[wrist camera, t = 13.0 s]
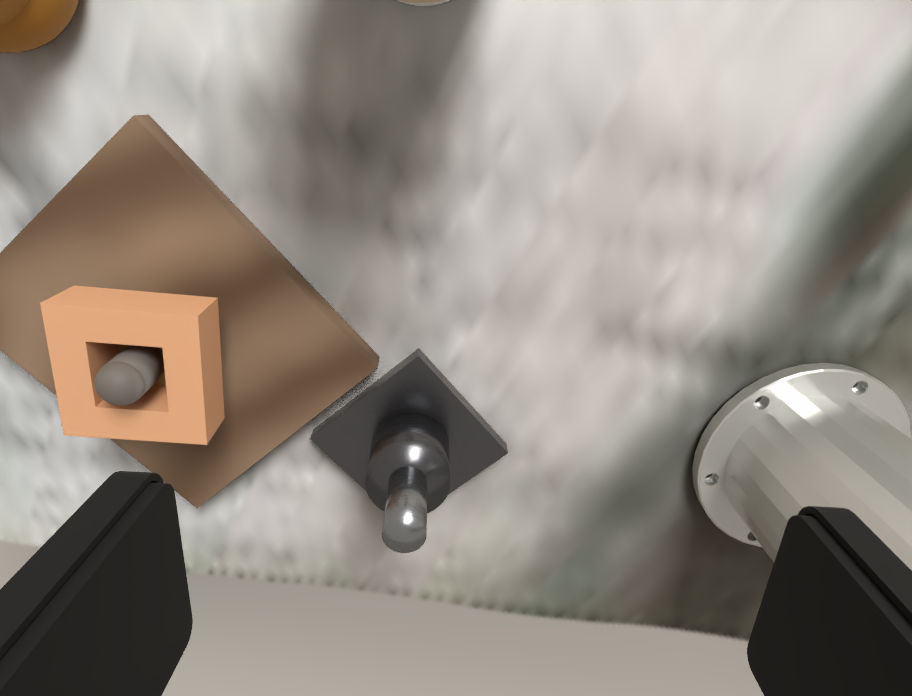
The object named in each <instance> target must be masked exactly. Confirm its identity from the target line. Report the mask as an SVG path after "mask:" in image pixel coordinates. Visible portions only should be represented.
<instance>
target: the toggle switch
mask: <svg viewBox="0 0 912 696" xmlns="http://www.w3.org/2000/svg"><path fill="white" fill-rule="evenodd" d="M72 286H86V287H98V288H109V289H121V290H133V291H145V292H157V293H168V294H180V295H192V296H204V297H216V298H218V310H219V328H220V345H221V363H222V380H223V398H224V416H225V418H224V420H223V421H222V423H221V424H220V426H219V427H218V429H217V431H216V432H215V434H214V435H213V437H212V438H211V440H210V441H209V443H208V444H207V445H201V444H186V443H171V442H156V441H141V440H126V439H112V438H110V439H111V440H113V441H114V442H115V443H116V444H118V445H119V446H120V447H121V448H123V449H124V450H125V451H126V452H128V453H129V454H130V455H131V456H133V457H134V458H135V459H136V460H138V461H139V462H140V463H141V464H143V465H144V466H145V467H146V468H148V469H149V470H150V471H151V472H153V473H157V474H159V475H160V476H161V477H162V479H163V481H164V482H165V483H168V484H171V485H172V487H173V489H174V490H175V491H176V492H177V493H179V494H180V495H181V496H182V497H184V498H185V499H186V500H187V501H189V502H190V503H191V504H192V505H194V506H195V507H196V508H198V507H199V506H201V505H202V504H203V503H205V502H206V501H207V500H208V499H210V498H211V497H212V496H214V495H215V494H216V493H217V492H219V491H220V490H221V489H223V488H224V487H225V486H226V485H228V484H229V483H230V482H232V481H233V480H234V479H235V478H237V477H238V476H239V475H241V474H242V473H243V472H244V471H246V470H247V469H248V468H250V467H251V466H252V465H253V464H255V463H256V462H257V461H259V460H260V459H261V458H262V457H264V456H265V455H266V454H268V453H269V452H270V451H271V450H273V449H274V448H275V447H277V446H278V445H279V444H280V443H282V442H283V441H284V440H286V439H287V438H288V437H289V436H291V435H292V434H293V433H295V432H296V431H297V430H298V429H300V428H301V427H302V426H304V425H305V424H306V423H307V422H309V421H310V420H311V419H313V418H314V417H315V416H316V415H318V414H319V413H320V412H322V411H323V410H324V409H325V408H327V407H328V406H329V405H331V404H332V403H333V402H334V401H336V400H337V399H338V398H340V397H341V396H342V395H344V394H345V393H346V392H347V391H349V390H350V389H351V388H353V387H354V386H355V385H356V384H358V383H359V382H360V381H362V380H363V379H364V378H365V377H367V376H368V375H369V374H371V373H372V372H373V371H374V370H376V369H377V366H378V362H379V356H378V355H377V354H376V353H375V352H374V351H373V350H372V349H371V348H370V346H369V345H368V344H367V343H366V342H365V341H364V340H363V339H362V338H361V337H360V336H359V335H358V334H357V333H356V332H355V331H354V330H353V329H352V328H351V327H350V325H349V324H348V323H347V322H346V321H345V320H344V319H343V318H342V317H341V316H340V315H339V314H338V313H337V312H336V311H335V310H334V309H333V308H332V307H331V306H330V305H329V303H328V302H327V301H326V300H325V299H324V298H323V297H322V296H321V295H320V294H319V293H318V292H317V291H316V290H315V289H314V288H313V287H312V286H311V285H310V284H309V282H308V281H307V280H306V279H305V278H304V277H303V276H302V275H301V274H300V273H299V272H298V271H297V270H296V269H295V268H294V267H293V266H292V265H291V264H290V263H289V262H288V260H287V259H286V258H285V257H284V256H283V255H282V254H281V253H280V252H279V251H278V250H277V249H276V248H275V247H274V246H273V245H272V244H271V243H270V242H269V241H268V239H267V238H266V237H265V236H264V235H263V234H262V233H261V232H260V231H259V230H258V229H257V228H256V227H255V226H254V225H253V224H252V223H251V222H250V221H249V220H248V219H247V217H246V216H245V215H244V214H243V213H242V212H241V211H240V210H239V209H238V208H237V207H236V206H235V205H234V204H233V203H232V202H231V201H230V200H229V199H228V198H227V197H226V195H225V194H224V193H223V192H222V191H221V190H220V189H219V188H218V187H217V186H216V185H215V184H214V183H213V182H212V181H211V180H210V179H209V178H208V177H207V176H206V174H205V173H204V172H203V171H202V170H201V169H200V168H199V167H198V166H197V165H196V164H195V163H194V162H193V161H192V160H191V159H190V158H189V157H188V156H187V155H186V154H185V152H184V151H183V150H182V149H181V148H180V147H179V146H178V145H177V144H176V143H175V142H174V141H173V140H172V139H171V138H170V137H169V136H168V135H167V134H166V133H165V131H164V130H163V129H162V128H161V127H160V126H159V125H158V124H157V123H156V122H155V121H154V120H153V119H152V118H151V117H150V116H149V115H137V116H133V117H132V118H131V119H130V120H129V121H128V122H127V123H126V124H125V125H124V126H123V127H122V128H121V129H120V130H119V131H118V132H117V133H116V134H115V135H114V136H113V137H112V138H111V139H110V140H109V141H108V142H107V143H106V144H105V145H104V147H103V148H102V149H101V150H100V151H99V152H98V153H97V154H96V155H95V156H94V157H93V158H92V159H91V160H90V161H89V162H88V163H87V164H86V165H85V166H84V167H83V168H82V169H81V170H80V171H79V172H78V173H77V174H76V175H75V176H74V177H73V178H72V180H71V181H70V182H69V183H68V184H67V185H66V186H65V187H64V188H63V189H62V190H61V191H60V192H59V193H58V194H57V195H56V196H55V197H54V198H53V199H52V200H51V201H50V202H49V203H48V204H47V205H46V206H45V207H44V208H43V209H42V210H41V211H40V212H39V214H38V215H37V216H36V217H35V218H34V219H33V220H32V221H31V222H30V223H29V224H28V225H27V226H26V227H25V228H24V229H23V230H22V231H21V232H20V233H19V234H18V235H17V236H16V237H15V238H14V239H13V240H12V241H11V242H10V243H9V244H8V245H7V247H6V248H5V249H4V250H3V251H2V252H1V253H0V350H1V351H2V352H3V353H4V354H6V355H7V356H8V357H9V358H11V359H12V360H13V361H14V362H16V363H17V364H18V365H19V366H21V367H22V368H23V369H24V370H26V371H27V372H28V373H29V374H31V375H32V376H33V377H34V378H36V379H37V380H38V381H39V382H41V383H42V384H43V385H44V386H46V387H47V388H48V389H49V390H51V391H52V392H53V393H54V394H55V395H57V394H56V389H55V383H54V377H53V372H52V366H51V361H50V355H49V350H48V344H47V339H46V333H45V328H44V322H43V316H42V311H41V305H40V303H41V302H43V301H45V300H47V299H49V298H51V297H53V296H55V295H57V294H59V293H60V292H62V291H64V290H66V289H68V288H70V287H72ZM118 351H119V354H117V355H116V356H115V357H114V358H112V359H111V360H110V361H109V362H108V363H106V364H105V365H104V366H103V367H102V368H101V369H100V370H99V371H98V373H97V375H96V378H95V388H96V391H97V393H98V395H99V396H100V397H101V398H102V399H103V400H104V401H106V402H108V403H110V404H113V405H129V404H131V403H134V402H136V401H137V400H138V399H140V398H141V397H142V396H143V395H144V394H145V393H146V392H147V391H148V390H149V389H150V388H151V387H152V386H153V385H163V386H166V380H165V369H164V359H163V349H162V348H161V347H148V346H135V345H123V344H118Z"/></svg>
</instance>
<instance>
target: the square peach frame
mask: <svg viewBox="0 0 912 696" xmlns="http://www.w3.org/2000/svg"><path fill="white" fill-rule="evenodd" d="M40 305H41V311H42V316H43V322H44V328H45V333H46V339H47V344H48V350H49V355H50V361H51V366H52V372H53V377H54V383H55V389H56V394H57V400H58V405H59V411H60V416H61V422H62V427H63V433H64V435H67V436H82V437H97V438H112V439H126V440H141V441H156V442H171V443H186V444H201V445H207V444H208V443H209V441H210V440H211V438H212V437H213V435H214V434H215V432H216V431H217V429H218V427H219V426H220V424H221V423H222V421H223V420H224V418H225V416H224V398H223V380H222V363H221V345H220V328H219V310H218V298H216V297H204V296H192V295H180V294H168V293H157V292H145V291H133V290H121V289H109V288H98V287H86V286H72V287H70V288H68V289H66V290H64V291H62V292H60V293H59V294H57V295H55V296H53V297H51V298H49V299H47V300H45V301H43V302H41V303H40ZM118 344H123V345H135V346H148V347H161V348H162V349H163V359H164V369H165V380H166V386H163V385H153V386H152V387H151V388H150V389H149V390H148V391H147V392H146V393H145V394H144V395H143V396H142V397H141V398H140V399H138V400H137V401H136V402H134V403H131V404H129V405H113V404H110V403H108V402H106V401H104V400H103V399H102V398H101V397H100V396H99V395H98V393H97V391H96V388H95V378H96V375H97V373H98V371H99V370H100V369H101V368H102V367H103V366H104V365H105V364H106V363H108V362H109V361H110V360H111V359H112V358H114V357H115V356H116V355H117V354H119V351H118Z"/></svg>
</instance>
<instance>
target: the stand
mask: <svg viewBox="0 0 912 696" xmlns="http://www.w3.org/2000/svg"><path fill="white" fill-rule="evenodd" d="M310 439H311V440H312V441H313V442H314V443H315V444H317V445H318V446H319V447H320V448H321V449H322V450H323V451H324V452H325V453H326V454H327V455H328V456H329V457H331V458H332V459H333V460H334V461H335V462H336V463H337V464H338V465H339V466H340V467H341V468H342V469H343V470H345V471H346V472H347V473H348V474H349V475H350V476H351V477H352V478H353V479H354V480H355V481H356V482H357V483H359V484H360V485H361V486H362V487H363V488H364V489H365V490H366V491H367V493H368V495H369V497H370V499H371V500H372V501H373V502H374V504H375V505H376V506H378V507H379V508H380V509H382V510H383V511H385V515H384V524H383V532H382V538H383V541H384V543H385V544H386V546H387V547H389V548H390V549H391V550H393V551H396V552H400V553H409V552H413V551H415V550H417V549H419V548H420V547H421V546H422V545H423V544H424V542H425V540H426V524H427V513H429V512H431V511H433V510H434V509H436V508H437V507H438V506H440V504H441V503H442V502H443V501H444V500H445V498H446V497H447V495H448V494H449V493H451V492H452V491H454V490H455V489H456V488H458V487H459V486H461V485H462V484H464V483H465V482H467V481H468V480H470V479H471V478H472V477H474V476H475V475H477V474H478V473H480V472H481V471H483V470H484V469H485V468H487V467H488V466H490V465H491V464H493V463H494V462H496V461H497V460H499V459H500V458H501V457H503V456H504V455H506V454H507V453H508V450H507V445H506V443H505V442H504V441H503V440H502V439H501V437H500V436H499V435H498V434H497V433H496V432H495V431H494V430H493V429H492V428H491V427H490V425H489V424H488V423H487V422H486V421H485V420H484V419H483V418H482V417H481V416H480V415H479V413H478V412H477V411H476V410H475V409H474V408H473V407H472V406H471V405H470V404H469V403H468V401H467V400H466V399H465V398H464V397H463V396H462V395H461V394H460V393H459V392H458V391H457V389H456V388H455V387H454V386H453V385H452V384H451V383H450V382H449V381H448V380H447V379H446V377H445V376H444V375H443V374H442V373H441V372H440V371H439V370H438V369H437V368H436V367H435V365H434V364H433V363H432V362H431V361H430V360H429V359H428V358H427V357H426V356H425V355H424V353H423V352H422V351H421V350H420V349H417V350H416V351H415V352H414V353H412V354H411V355H410V356H408V357H407V358H406V359H405V360H403V361H402V362H401V363H399V364H398V365H397V366H395V367H394V368H393V369H392V370H390V371H389V372H388V373H386V374H385V375H384V376H382V377H381V378H380V379H379V380H377V381H376V382H375V383H373V384H372V385H371V386H370V387H368V388H367V389H366V390H364V391H363V392H362V393H360V394H359V395H358V396H357V397H355V398H354V399H353V400H351V401H350V402H349V403H347V404H346V405H345V406H344V407H342V408H341V409H340V410H338V411H337V412H336V413H335V414H333V415H332V416H331V417H329V418H328V419H327V420H325V421H324V422H323V423H322V424H320V425H319V426H318V427H316V428H315V429H314V430H313V433H312V436H311V438H310Z"/></svg>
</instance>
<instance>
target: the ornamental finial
mask: <svg viewBox="0 0 912 696" xmlns="http://www.w3.org/2000/svg"><path fill="white" fill-rule="evenodd" d="M78 2H79V0H0V52H4V53H12V52H23V51H28V50H32V49H35V48H38V47H40V46H42V45H45V44H46V43H48V42H50V41H51V40H53V39H54V38H56V37H57V36H58V35H59V34H60V33H61V32H62V31H63V30H64V29H65V28H66V26H67V25H68V24H69V22H70V20H71V19H72V17H73V15H74V13H75V11H76V8H77V5H78Z"/></svg>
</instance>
